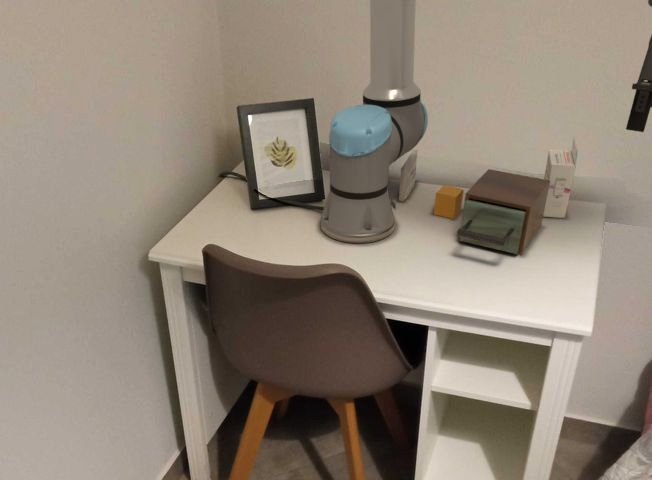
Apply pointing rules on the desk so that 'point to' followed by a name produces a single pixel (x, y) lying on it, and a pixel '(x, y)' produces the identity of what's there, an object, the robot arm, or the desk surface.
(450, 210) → the block
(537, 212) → the cabinet
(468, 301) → the desk surface
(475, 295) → the desk surface
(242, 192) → the desk surface
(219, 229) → the desk surface
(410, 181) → the cassette
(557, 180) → the ink cartridge box
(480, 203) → the drawer
